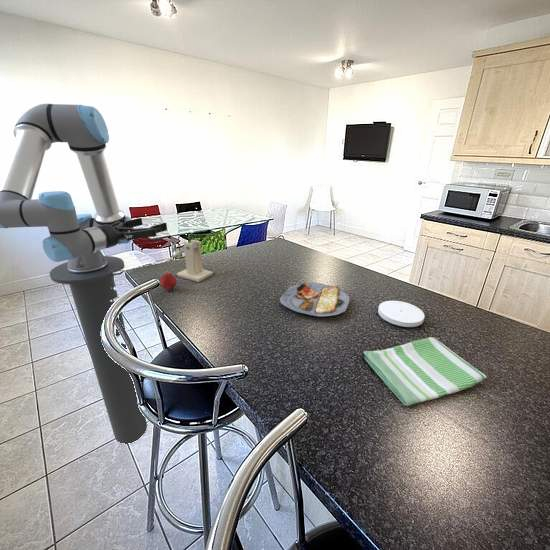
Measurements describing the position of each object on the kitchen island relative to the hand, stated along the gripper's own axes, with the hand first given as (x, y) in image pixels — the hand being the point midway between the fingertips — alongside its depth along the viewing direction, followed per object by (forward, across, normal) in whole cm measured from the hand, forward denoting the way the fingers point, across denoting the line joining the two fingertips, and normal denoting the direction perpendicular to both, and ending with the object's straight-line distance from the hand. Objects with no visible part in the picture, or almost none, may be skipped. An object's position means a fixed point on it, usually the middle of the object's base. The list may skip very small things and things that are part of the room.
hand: (153, 223), depth 112 cm
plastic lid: (+18, +91, -22) cm, 96 cm away
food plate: (+13, +63, -23) cm, 69 cm away
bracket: (+9, +10, -23) cm, 27 cm away
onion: (-7, +12, -23) cm, 27 cm away
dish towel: (-6, +99, -22) cm, 102 cm away
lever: (+9, +6, -14) cm, 18 cm away
